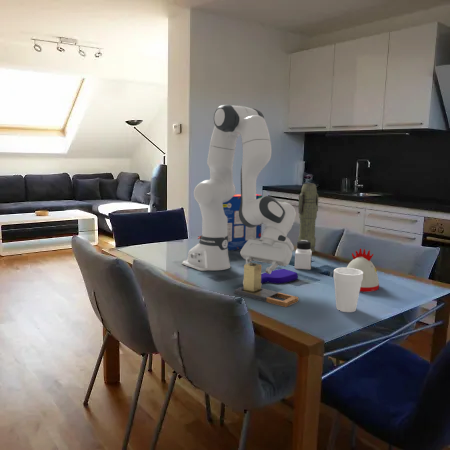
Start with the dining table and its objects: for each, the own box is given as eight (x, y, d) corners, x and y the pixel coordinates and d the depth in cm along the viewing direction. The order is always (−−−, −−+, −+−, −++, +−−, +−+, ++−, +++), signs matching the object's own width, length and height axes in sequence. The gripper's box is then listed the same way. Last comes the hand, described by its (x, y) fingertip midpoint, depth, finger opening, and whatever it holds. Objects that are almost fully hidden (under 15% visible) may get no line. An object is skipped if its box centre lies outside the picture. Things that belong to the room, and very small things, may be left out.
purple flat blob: (281, 267, 196) (237, 277, 182) (300, 273, 188) (255, 284, 173) (281, 274, 197) (236, 285, 182) (300, 280, 189) (255, 292, 174)
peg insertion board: (234, 293, 169) (234, 289, 169) (247, 288, 175) (247, 284, 175) (286, 307, 156) (286, 302, 155) (298, 301, 162) (298, 297, 162)
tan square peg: (243, 294, 169) (244, 264, 167) (250, 291, 172) (251, 262, 170) (253, 296, 166) (254, 266, 164) (260, 293, 170) (261, 264, 168)
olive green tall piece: (320, 251, 240) (323, 183, 234) (305, 254, 233) (308, 184, 227) (307, 248, 247) (310, 182, 241) (292, 250, 240) (294, 183, 234)
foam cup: (328, 304, 159) (330, 267, 157) (354, 303, 160) (356, 267, 158) (337, 314, 150) (339, 275, 148) (364, 313, 151) (367, 275, 148)
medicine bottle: (310, 269, 203) (312, 243, 201) (294, 268, 205) (295, 242, 203) (311, 265, 210) (312, 239, 208) (295, 264, 212) (296, 239, 210)
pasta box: (252, 244, 254) (254, 193, 249) (260, 247, 247) (262, 195, 242) (206, 248, 242) (207, 195, 237) (213, 252, 235) (214, 197, 230)
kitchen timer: (373, 294, 171) (376, 254, 169) (337, 287, 179) (339, 249, 176) (382, 284, 183) (385, 247, 181) (348, 279, 190) (350, 243, 188)
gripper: (246, 232, 180) (230, 261, 174) (292, 238, 167) (277, 270, 161) (253, 241, 184) (237, 270, 178) (298, 248, 171) (283, 280, 165)
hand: (256, 270), depth 169 cm, fingers open, 8 cm apart
